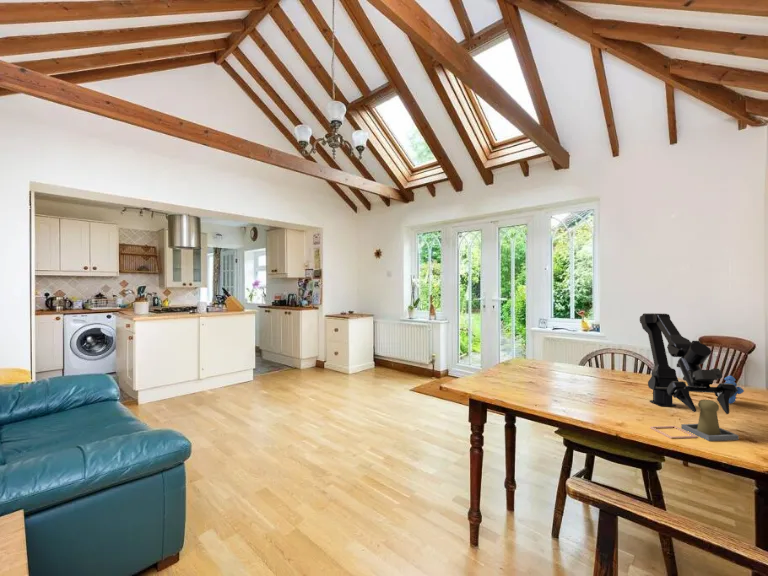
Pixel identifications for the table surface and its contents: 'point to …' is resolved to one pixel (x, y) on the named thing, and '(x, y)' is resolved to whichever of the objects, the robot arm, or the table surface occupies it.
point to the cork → (708, 417)
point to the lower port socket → (724, 435)
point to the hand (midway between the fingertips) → (711, 412)
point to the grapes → (731, 381)
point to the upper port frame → (673, 436)
